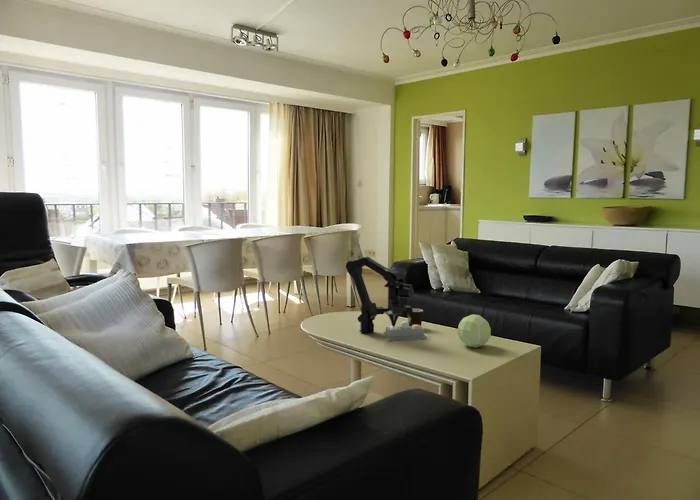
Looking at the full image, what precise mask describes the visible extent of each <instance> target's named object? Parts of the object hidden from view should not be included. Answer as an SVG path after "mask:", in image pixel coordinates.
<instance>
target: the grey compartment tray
mask: <svg viewBox="0 0 700 500" xmlns="http://www.w3.org/2000/svg"><path fill="white" fill-rule="evenodd" d="M383 335H384V336H385V337H386V339H388V341H389V342H394V341H396V342H397V341H413V340H414V341H415V340H427V339H428V337H427V336H426V335H425V328H424V327H423V326H422V325H421V326H420V329H413V328H412V326H409V329H401V326H397V330H390V326H387V327H386V326H385V331H383Z"/></svg>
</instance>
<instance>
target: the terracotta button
mask: <svg viewBox="0 0 700 500" xmlns="http://www.w3.org/2000/svg"><path fill="white" fill-rule="evenodd" d="M412 328H413V329H420V325H412Z"/></svg>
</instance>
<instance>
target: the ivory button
mask: <svg viewBox="0 0 700 500" xmlns="http://www.w3.org/2000/svg"><path fill="white" fill-rule="evenodd" d="M389 327H390V330H397V327H398V326H397V325H395V326H394V327H393V326H392V325H389Z"/></svg>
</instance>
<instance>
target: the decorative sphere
mask: <svg viewBox="0 0 700 500" xmlns="http://www.w3.org/2000/svg"><path fill="white" fill-rule="evenodd" d="M491 329H492V328H491V326H490V324H489V322H488V320H487V319H485V318H484V317H483V316H481V315H480V314H470V315H468V316H465V317H463V318H462V319H461V320H460V322H459V324H458V327H457V335H458V337H459V340H460V341H461V342H462V343H464V345H466V346H467V347H469V348H473V347H474V349H477V348H479V347H482V346H484V345H486V344H487V342H489V340H490V338H491V337H492V336H491V333H492V332H491Z"/></svg>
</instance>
